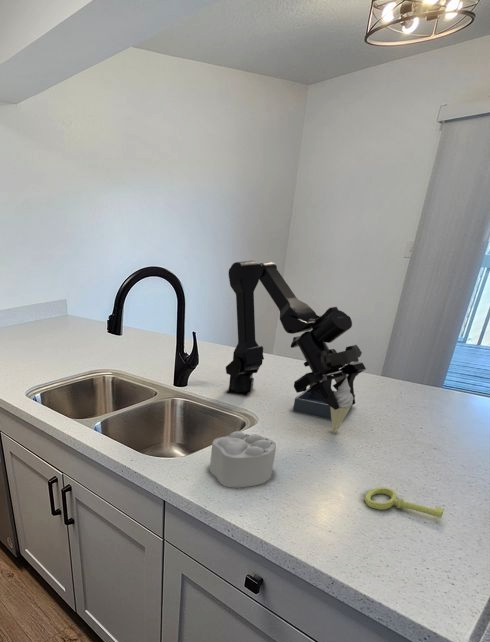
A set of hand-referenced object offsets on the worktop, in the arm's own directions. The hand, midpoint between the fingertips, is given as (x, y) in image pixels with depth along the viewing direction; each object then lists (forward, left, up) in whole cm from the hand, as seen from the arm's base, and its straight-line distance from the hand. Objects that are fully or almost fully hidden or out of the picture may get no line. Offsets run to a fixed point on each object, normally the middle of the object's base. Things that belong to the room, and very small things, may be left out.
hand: (345, 406), depth 107 cm
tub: (-6, +16, -8) cm, 19 cm away
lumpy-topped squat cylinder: (-15, -30, -8) cm, 35 cm away
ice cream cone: (-1, +1, -8) cm, 8 cm away
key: (+14, -28, -8) cm, 32 cm away
